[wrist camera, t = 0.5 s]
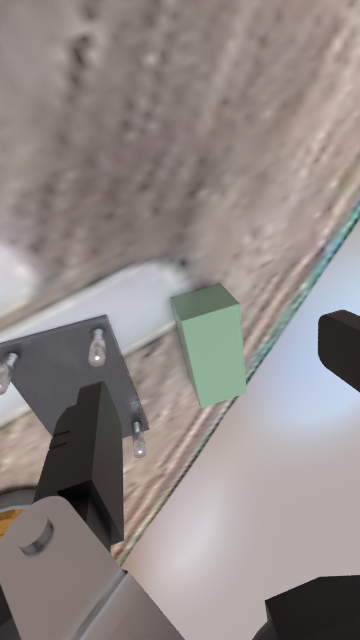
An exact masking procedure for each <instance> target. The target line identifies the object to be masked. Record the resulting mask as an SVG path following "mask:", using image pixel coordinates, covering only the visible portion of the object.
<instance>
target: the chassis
mask: <svg viewBox="0 0 360 640" xmlns="http://www.w3.org/2000/svg"><path fill="white" fill-rule="evenodd" d="M10 381H11V382H12V384H13V385H14V386H15V388H16V389H17V390H18V392H19V393H20V394H21V396H22V397H23V398H24V400H25V401H26V402H27V404H28V405H29V406H30V408H31V409H32V410H33V412H34V413H35V414H36V416H37V417H38V418H39V420H40V421H41V422H42V424H43V425H44V426H45V428H46V429H47V430H48V432H49V433H50V434H51V436H52V437H53V433H54V430H55V426H56V423H57V421H58V419H59V418H60V417H61V415H62V414H63V412H64V411H65V410H66V408H67V407H70V406H74V405H76V403H77V398H78V394H79V390H80V388H81V387H83V386H87V385H90V384H93V383H97V382H100V381H104V382H105V383H106V385H107V388H108V390H109V393H110V395H111V398H112V400H113V403H114V405H115V407H116V410H117V412H118V415H119V418H120V422H121V427H122V438H125V437H128V436H131V435H132V437H133V447H134V456H135V457H136V458H141V457H144V456H145V455H146V448H145V441H144V434H143V431H146V430H149V425H148V422H147V420H146V417H145V415H144V412H143V409H142V407H141V404H140V402H139V399H138V396H137V394H136V391H135V389H134V386H133V383H132V381H131V378H130V376H129V373H128V370H127V368H126V365H125V363H124V360H123V357H122V355H121V352H120V350H119V347H118V344H117V342H116V339H115V337H114V334H113V332H112V329H111V326H110V324H109V321H108V319H107V316H106V315H104V316H101V317H97V318H93V319H89V320H86V321H82V322H78V323H75V324H71V325H67V326H64V327H60V328H56V329H52V330H49V331H45V332H41V333H38V334H34V335H30V336H27V337H23V338H19V339H15V340H12V341H8V342H4V343H1V344H0V395H2V394H4V393H5V392H6V390H7V388H8V386H9V383H10Z"/></svg>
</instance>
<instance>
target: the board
mask: <svg viewBox="0 0 360 640" xmlns="http://www.w3.org/2000/svg"><path fill="white" fill-rule="evenodd" d="M170 300H171V305H172V309H173V313H174V317H175V321H176V325H177V329H178V333H179V337H180V341H181V346H182V350H183V354H184V358H185V362H186V366H187V370H188V374H189V378H190V381H191V384H192V386H193V389H194V391H195V394H196V396H197V399H198V401H199V404H200V406H201V408H204V407H207V406H209V405H212V404H215V403H218V402H221V401H224V400H227V399H230V398H233V397H236V396H239V395H242V394H245V393H246V380H245V367H244V354H243V341H242V328H241V315H240V304H239V302H238V301H237V300H236V299H235V298H234V297H233V296H232V295H231V294H230V293H229V292H228V291H227V290H226V289H225V288H224V287H223V286H222V285H221V284H217V285H213V286H210V287H206V288H203V289H199V290H196V291H193V292H189V293H186V294H182V295H179V296H175V297H172V298H170Z"/></svg>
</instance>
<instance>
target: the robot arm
mask: <svg viewBox="0 0 360 640" xmlns="http://www.w3.org/2000/svg"><path fill="white" fill-rule="evenodd" d="M318 355H319V358H320V360H321V362H322V364H323V365H324V366H325V367H326V368H327V369H329V370H330V371H331V372H333V373H334V374H336V375H337V376H338V377H340V378H341V379H342V380H344V381H345V382H346V383H348V384H349V385H350V386H352V387H353V388H355V389H356V390H357V391H359V392H360V316H358V315H356V314H353V313H351V312H348V311H346V310H339V311H335V312H332V313H329V314H325V315H323V316H321V317H320V319H319V322H318ZM121 541H124V514H123V451H122V427H121V422H120V418H119V415H118V412H117V410H116V407H115V405H114V403H113V400H112V398H111V395H110V393H109V390H108V388H107V385H106V383H105V382H104V381H100V382H97V383H93V384H90V385H87V386H83V387H81V388H80V390H79V394H78V398H77V403H76V405H74V406H70V407H67V408H66V410H65V411H64V412H63V414H62V415H61V417H60V418H59V419H58V421H57V423H56V426H55V430H54V433H53V438H52V440H51V443H50V446H49V451H48V453H47V456H46V460H45V463H44V466H43V470H42V473H41V476H40V480H39V483H38V486H37V490H36V493H35V496H34V500H33V503H32V505H30V506H29V507H27V508H26V509H25V510H24V511H23V512H22V513H21V514H19V515H18V516H17V517H16V519H15V520H14V521H13V522H12V523H11V524H10V526H9V527H8V529H7V530H6V532H5V533H4V535H3V537H2V538H1V541H0V640H185V639H184V638H183V637H182V636H181V634H180V633H179V632H178V631H177V630H176V628H175V627H174V626H173V625H172V624H171V622H170V621H169V620H168V619H167V617H166V616H165V615H164V614H163V612H162V611H161V610H160V609H159V608H158V606H157V605H156V604H155V603H154V601H153V600H152V599H151V598H150V597H149V595H148V594H147V593H146V592H145V591H144V589H143V588H142V587H141V586H140V584H139V583H138V582H137V581H136V580H135V579H134V577H133V576H132V575H131V574H130V573H129V572H128V571H126V570H125V571H124V570H123V569H122V568H121V566H120V565H119V564H118V563H117V562H116V560H115V559H114V558H113V557H112V555H111V554H110V548H111V545H113V544H116V543H119V542H121ZM265 606H266V612H267V619H268V621H267V623H265V625H263V626H262V628H261V629H260V630H259V631H258V632H257V633H256V635H255V636H254V638H253V639H252V640H360V575H352V576H328V577H318V578H316V579H314V580H311V581H309V582H307V583H304V584H302V585H300V586H297V587H295V588H293V589H290V590H288V591H286V592H283V593H281V594H279V595H277V596H274V597H272V598H270V599H267V600H265Z"/></svg>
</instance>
